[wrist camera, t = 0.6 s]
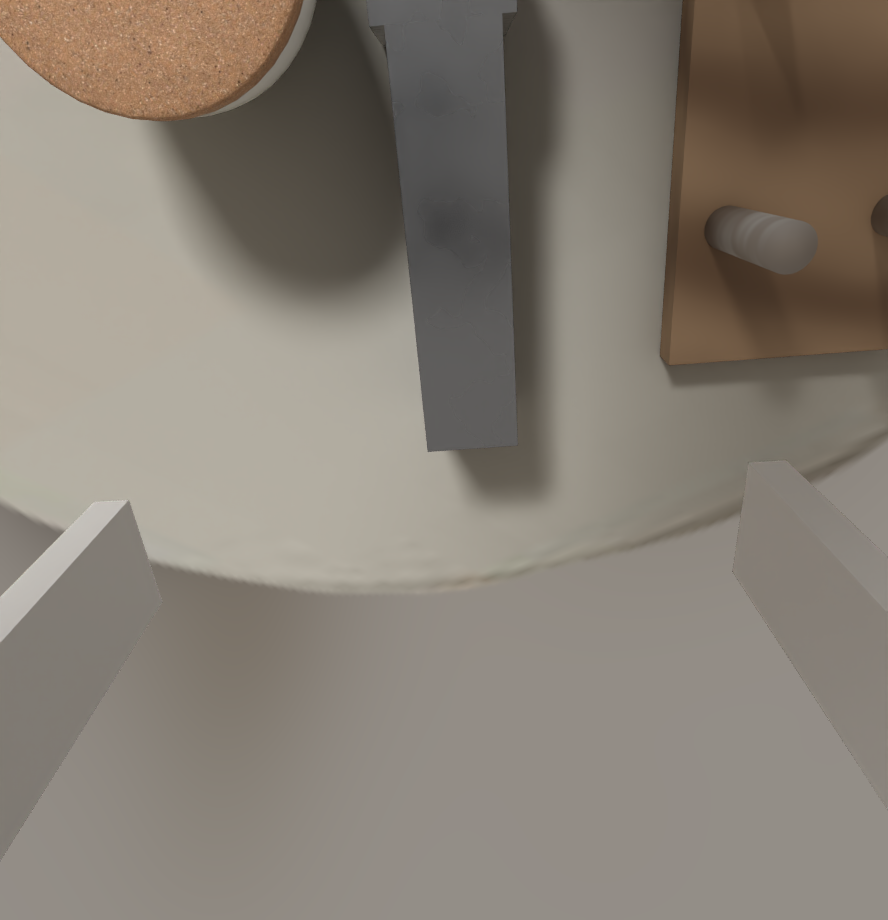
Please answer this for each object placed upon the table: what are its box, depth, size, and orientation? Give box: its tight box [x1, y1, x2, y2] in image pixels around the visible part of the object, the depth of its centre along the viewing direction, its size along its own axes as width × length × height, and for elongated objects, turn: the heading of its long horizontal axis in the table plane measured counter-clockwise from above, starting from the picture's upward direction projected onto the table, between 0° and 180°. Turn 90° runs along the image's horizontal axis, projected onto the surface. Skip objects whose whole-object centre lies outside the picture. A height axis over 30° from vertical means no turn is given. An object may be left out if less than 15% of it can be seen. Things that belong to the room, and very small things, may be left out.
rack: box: [660, 0, 888, 365], centre depth 24 cm, size 22×11×8 cm, turn 5°
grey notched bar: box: [366, 0, 518, 452], centre depth 27 cm, size 20×5×5 cm, turn 5°
